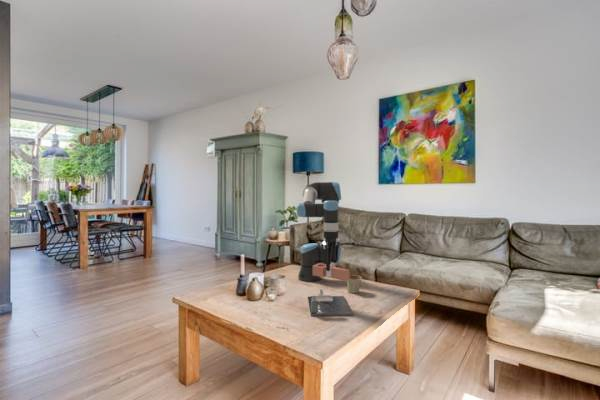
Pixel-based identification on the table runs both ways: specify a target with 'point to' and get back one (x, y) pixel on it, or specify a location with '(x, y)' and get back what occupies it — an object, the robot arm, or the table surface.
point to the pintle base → (328, 305)
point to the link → (336, 272)
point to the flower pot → (354, 283)
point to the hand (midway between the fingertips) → (330, 275)
